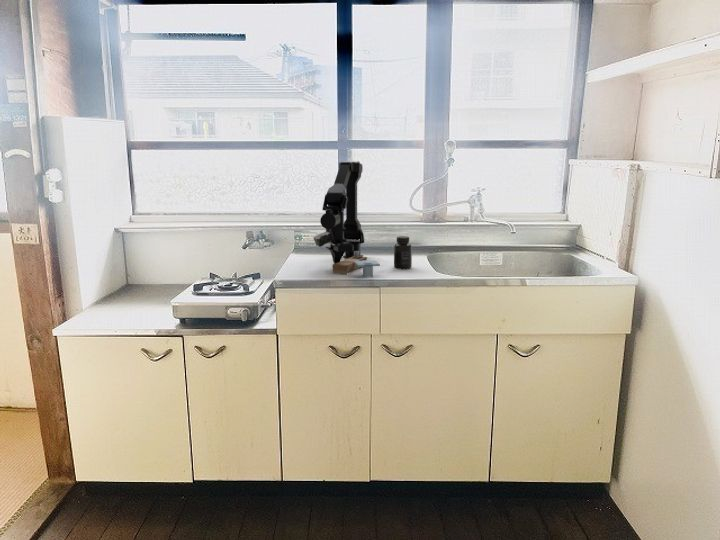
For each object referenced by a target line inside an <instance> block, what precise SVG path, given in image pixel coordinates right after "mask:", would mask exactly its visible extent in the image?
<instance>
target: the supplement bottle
mask: <svg viewBox="0 0 720 540" xmlns="http://www.w3.org/2000/svg"><path fill="white" fill-rule="evenodd" d="M412 252H413V247H412V244H410V237H409V236H407V235H406V236H405V235H403V236H402V235H401V236H400V235H399V236H397V237H396V244H394V245H393V267H394V269H396V270H409V269H411V268H412V267H413V266H412V265H413V264H412V262H413V261H412V259H413V257H412V256H413V254H412Z"/></svg>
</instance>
